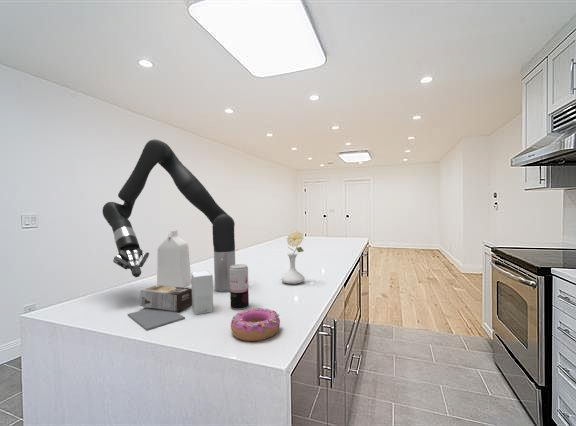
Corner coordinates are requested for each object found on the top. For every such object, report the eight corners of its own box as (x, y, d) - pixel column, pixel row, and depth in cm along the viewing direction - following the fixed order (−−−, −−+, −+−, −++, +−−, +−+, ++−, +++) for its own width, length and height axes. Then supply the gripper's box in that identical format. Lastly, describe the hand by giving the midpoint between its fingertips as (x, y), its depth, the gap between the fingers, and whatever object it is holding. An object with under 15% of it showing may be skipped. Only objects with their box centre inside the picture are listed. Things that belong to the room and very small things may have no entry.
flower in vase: (276, 282, 136) (275, 230, 135) (293, 278, 144) (292, 229, 143) (295, 288, 126) (294, 232, 126) (312, 283, 134) (311, 230, 133)
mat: (127, 315, 97) (127, 313, 97) (162, 306, 106) (162, 304, 106) (146, 330, 85) (146, 328, 85) (185, 318, 93) (185, 317, 93)
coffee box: (157, 284, 111) (193, 288, 107) (157, 300, 111) (193, 305, 107) (140, 289, 102) (178, 294, 98) (139, 307, 102) (177, 312, 98)
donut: (220, 338, 79) (220, 320, 79) (248, 319, 92) (247, 304, 92) (266, 347, 74) (265, 328, 73) (288, 326, 87) (287, 309, 86)
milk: (182, 288, 129) (180, 231, 129) (156, 288, 129) (155, 232, 129) (191, 281, 141) (189, 229, 141) (168, 281, 141) (166, 229, 141)
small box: (213, 311, 99) (212, 274, 99) (194, 315, 96) (193, 277, 96) (209, 304, 107) (208, 270, 106) (191, 307, 104) (190, 272, 103)
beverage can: (241, 302, 108) (241, 263, 108) (252, 306, 104) (251, 265, 103) (227, 307, 104) (226, 266, 103) (237, 311, 99) (236, 268, 99)
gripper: (109, 235, 107) (120, 272, 99) (146, 233, 117) (158, 266, 109) (105, 248, 111) (115, 285, 103) (141, 245, 121) (153, 278, 112)
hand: (137, 275), depth 106 cm, fingers closed
